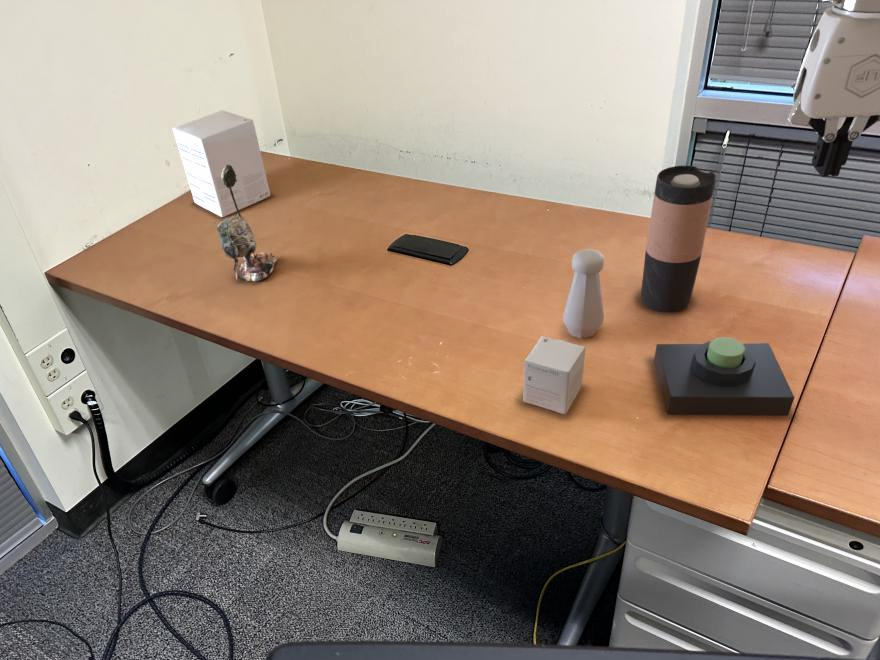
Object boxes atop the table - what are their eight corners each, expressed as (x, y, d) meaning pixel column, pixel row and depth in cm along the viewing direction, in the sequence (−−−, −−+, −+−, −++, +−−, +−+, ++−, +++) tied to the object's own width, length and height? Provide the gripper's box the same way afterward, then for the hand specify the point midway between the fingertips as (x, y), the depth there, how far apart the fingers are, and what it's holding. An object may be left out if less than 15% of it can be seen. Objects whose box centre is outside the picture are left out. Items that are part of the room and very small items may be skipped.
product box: (521, 402, 92) (522, 359, 88) (539, 376, 96) (541, 334, 91) (566, 416, 89) (569, 372, 85) (582, 388, 93) (586, 345, 88)
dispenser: (763, 360, 93) (772, 330, 89) (788, 415, 84) (799, 384, 81) (653, 361, 95) (658, 331, 92) (667, 414, 87) (673, 384, 84)
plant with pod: (218, 282, 128) (186, 181, 116) (258, 254, 135) (233, 155, 122) (249, 292, 124) (220, 187, 111) (289, 262, 131) (266, 161, 118)
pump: (736, 349, 88) (740, 336, 87) (745, 369, 85) (748, 356, 84) (703, 350, 89) (706, 337, 88) (710, 369, 86) (713, 356, 85)
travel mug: (640, 312, 104) (658, 188, 92) (637, 286, 110) (654, 165, 97) (694, 314, 102) (721, 187, 90) (688, 286, 108) (713, 164, 95)
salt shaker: (607, 324, 103) (616, 247, 95) (596, 345, 100) (604, 267, 91) (568, 316, 106) (574, 241, 98) (556, 337, 102) (561, 260, 94)
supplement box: (241, 183, 164) (222, 108, 153) (271, 196, 156) (254, 118, 145) (193, 203, 158) (170, 127, 147) (222, 218, 150) (200, 139, 139)
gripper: (808, 9, 66) (763, 189, 78) (988, -8, 63) (913, 181, 75) (785, -7, 72) (746, 163, 83) (948, -24, 69) (885, 155, 80)
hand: (825, 171), depth 79 cm, fingers closed
